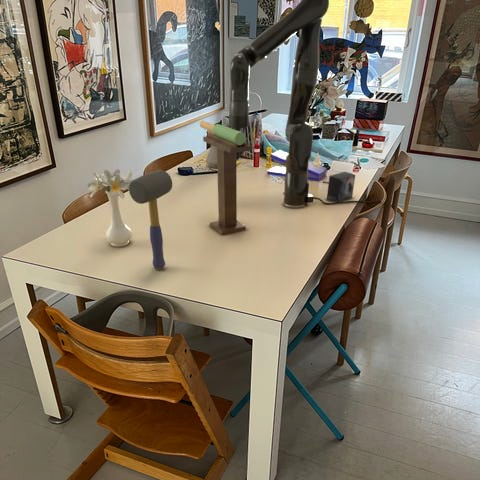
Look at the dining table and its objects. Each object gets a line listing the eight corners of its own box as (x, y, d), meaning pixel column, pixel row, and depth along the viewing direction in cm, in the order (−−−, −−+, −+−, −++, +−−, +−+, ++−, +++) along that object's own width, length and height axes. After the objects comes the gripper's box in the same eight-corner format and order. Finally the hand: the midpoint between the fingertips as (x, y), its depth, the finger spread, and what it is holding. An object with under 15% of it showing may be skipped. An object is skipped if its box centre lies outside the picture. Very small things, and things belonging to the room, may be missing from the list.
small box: (337, 203, 204) (340, 178, 198) (325, 199, 208) (328, 175, 202) (353, 198, 209) (356, 174, 204) (341, 194, 213) (344, 171, 208)
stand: (204, 222, 186) (200, 134, 168) (226, 217, 190) (225, 131, 172) (228, 239, 171) (227, 145, 153) (252, 234, 175) (254, 142, 158)
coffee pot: (202, 167, 251) (201, 137, 242) (211, 162, 260) (210, 133, 251) (240, 171, 244) (240, 141, 236) (248, 166, 253) (248, 136, 245)
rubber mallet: (156, 279, 146) (145, 181, 129) (137, 273, 149) (124, 177, 133) (180, 263, 155) (173, 170, 138) (162, 258, 158) (153, 166, 142)
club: (197, 130, 176) (197, 118, 174) (207, 129, 177) (207, 117, 175) (234, 146, 155) (234, 133, 153) (245, 144, 157) (245, 131, 155)
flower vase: (148, 235, 175) (140, 165, 161) (123, 255, 160) (112, 180, 146) (116, 230, 178) (106, 162, 164) (89, 250, 163) (75, 177, 150)
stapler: (275, 168, 249) (276, 149, 244) (327, 175, 238) (329, 155, 233) (266, 174, 240) (267, 154, 235) (319, 181, 230) (321, 160, 224)
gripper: (245, 117, 176) (244, 162, 185) (251, 110, 188) (250, 153, 197) (225, 116, 177) (225, 160, 186) (233, 109, 189) (232, 152, 198)
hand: (238, 157), depth 191 cm, fingers open, 8 cm apart
